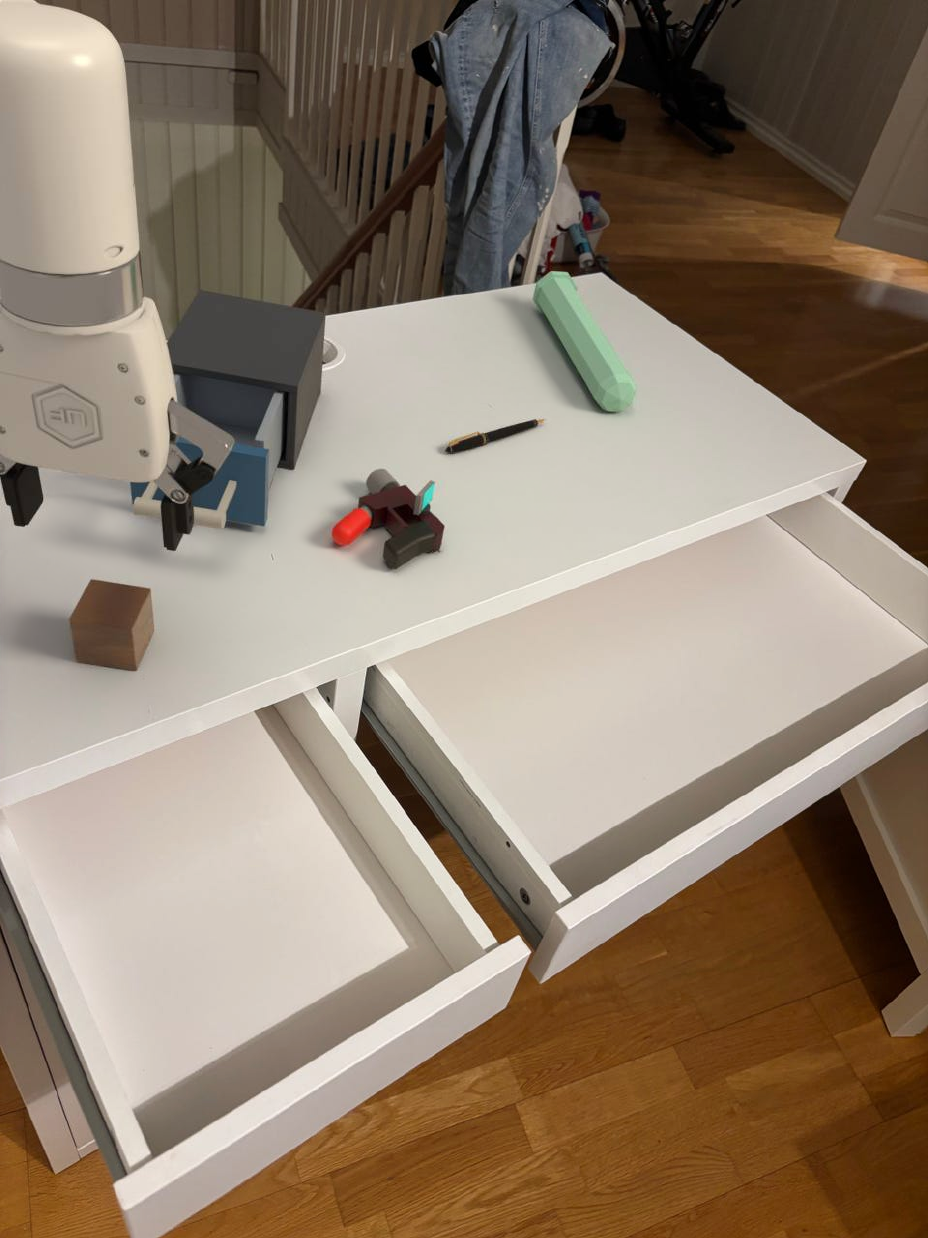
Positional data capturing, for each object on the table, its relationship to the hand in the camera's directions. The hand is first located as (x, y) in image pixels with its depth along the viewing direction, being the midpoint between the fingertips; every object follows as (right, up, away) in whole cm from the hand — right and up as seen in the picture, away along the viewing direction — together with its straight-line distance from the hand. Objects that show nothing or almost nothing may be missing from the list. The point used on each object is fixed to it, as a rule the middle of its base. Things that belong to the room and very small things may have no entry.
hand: (103, 525), depth 63 cm
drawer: (+1, +5, +22) cm, 22 cm away
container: (+38, +25, +53) cm, 70 cm away
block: (-2, -8, +8) cm, 12 cm away
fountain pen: (+27, +13, +37) cm, 48 cm away
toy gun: (+16, +2, +23) cm, 28 cm away
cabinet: (+2, +14, +32) cm, 35 cm away
